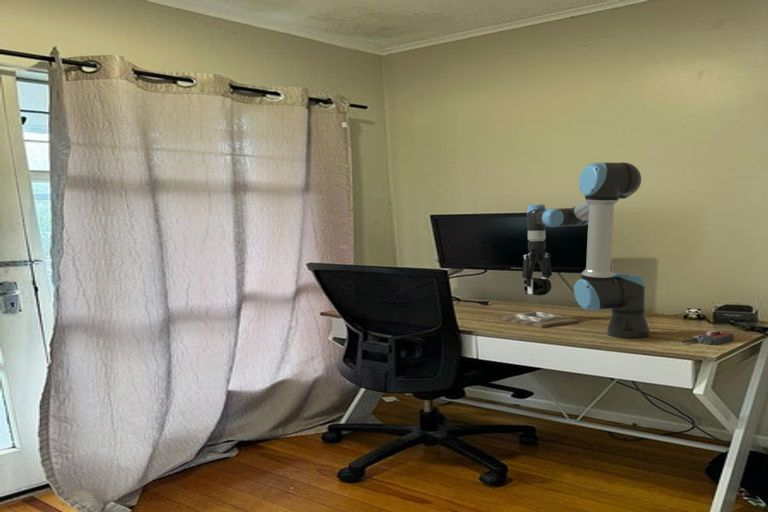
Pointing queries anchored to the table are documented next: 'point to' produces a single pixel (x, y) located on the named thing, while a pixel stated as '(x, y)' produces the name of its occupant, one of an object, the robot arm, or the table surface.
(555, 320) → the lens rest
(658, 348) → the table surface
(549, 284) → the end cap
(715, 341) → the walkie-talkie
